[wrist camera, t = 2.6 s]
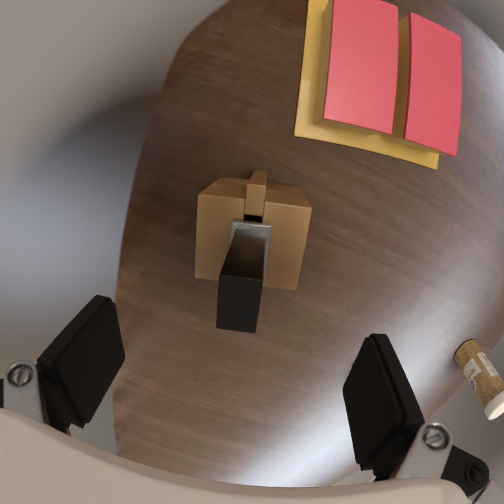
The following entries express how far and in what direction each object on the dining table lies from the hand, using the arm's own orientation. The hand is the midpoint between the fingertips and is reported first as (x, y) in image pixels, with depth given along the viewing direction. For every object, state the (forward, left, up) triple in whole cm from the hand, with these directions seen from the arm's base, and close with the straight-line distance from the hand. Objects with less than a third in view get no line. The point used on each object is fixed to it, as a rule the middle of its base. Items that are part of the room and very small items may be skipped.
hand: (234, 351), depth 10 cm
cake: (+10, +15, -18) cm, 26 cm away
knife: (0, 0, -18) cm, 18 cm away
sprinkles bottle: (+35, -16, -18) cm, 42 cm away
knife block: (0, 0, -18) cm, 18 cm away
